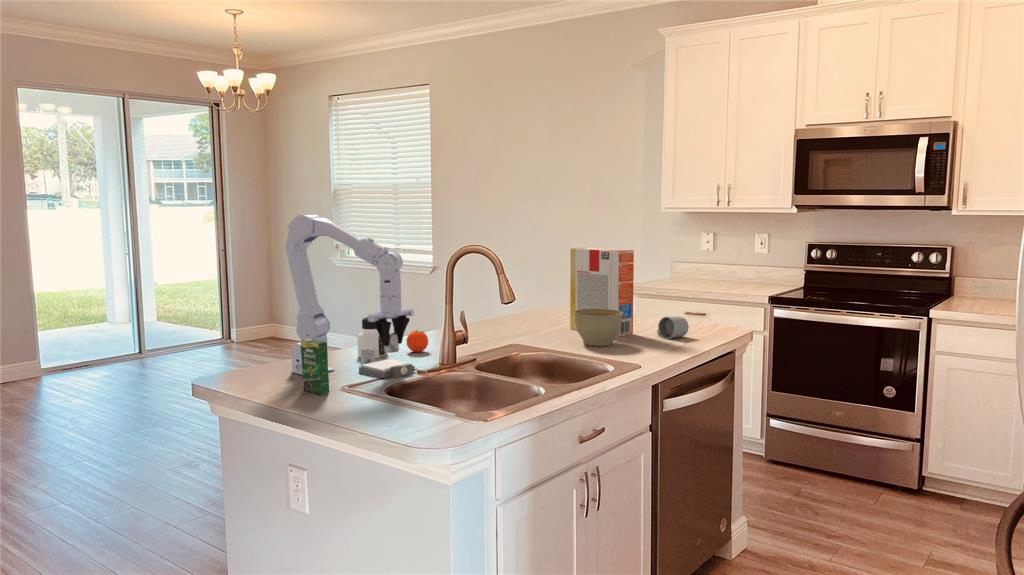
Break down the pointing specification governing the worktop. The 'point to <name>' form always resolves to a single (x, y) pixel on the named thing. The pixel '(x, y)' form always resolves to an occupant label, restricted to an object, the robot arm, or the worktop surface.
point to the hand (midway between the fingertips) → (391, 344)
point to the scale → (387, 369)
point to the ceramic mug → (672, 327)
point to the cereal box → (602, 283)
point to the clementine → (417, 341)
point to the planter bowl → (598, 325)
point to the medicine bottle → (370, 339)
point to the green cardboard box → (315, 366)
